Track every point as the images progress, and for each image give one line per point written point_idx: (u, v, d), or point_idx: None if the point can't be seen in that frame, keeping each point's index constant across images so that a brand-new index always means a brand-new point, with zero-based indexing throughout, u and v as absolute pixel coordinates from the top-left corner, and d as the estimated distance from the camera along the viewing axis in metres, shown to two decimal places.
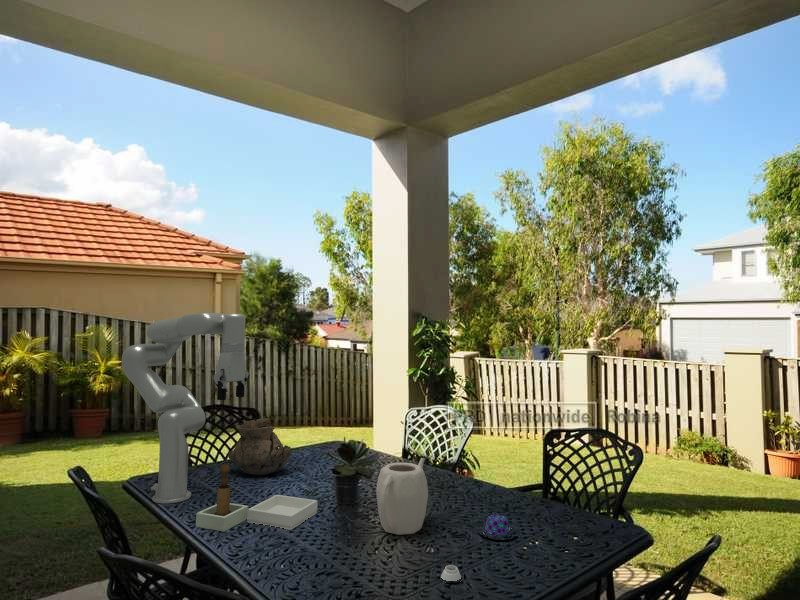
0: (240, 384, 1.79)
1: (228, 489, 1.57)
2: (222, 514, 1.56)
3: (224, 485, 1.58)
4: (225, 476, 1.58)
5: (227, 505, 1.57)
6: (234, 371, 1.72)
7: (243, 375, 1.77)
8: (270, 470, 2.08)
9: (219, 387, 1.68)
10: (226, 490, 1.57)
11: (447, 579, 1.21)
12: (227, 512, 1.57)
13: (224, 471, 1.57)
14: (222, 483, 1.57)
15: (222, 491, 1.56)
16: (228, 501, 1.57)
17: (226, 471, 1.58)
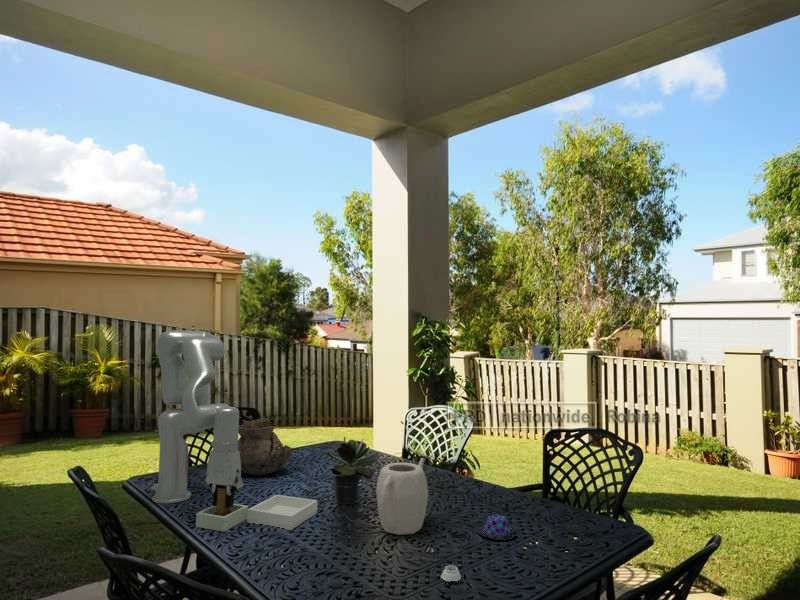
0: None
1: None
2: (222, 514, 1.56)
3: None
4: None
5: None
6: None
7: None
8: (270, 470, 2.08)
9: (232, 493, 1.57)
10: (226, 490, 1.57)
11: (447, 579, 1.21)
12: (227, 512, 1.57)
13: None
14: None
15: (222, 491, 1.56)
16: None
17: None
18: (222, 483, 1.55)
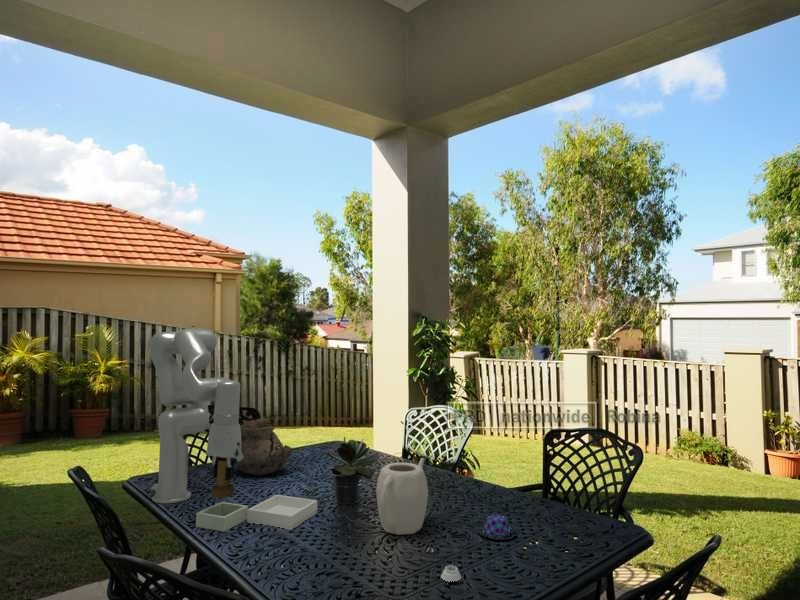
0: None
1: None
2: (222, 486, 1.57)
3: None
4: None
5: None
6: None
7: None
8: (270, 470, 2.08)
9: (233, 466, 1.58)
10: (226, 462, 1.58)
11: (447, 579, 1.21)
12: (227, 484, 1.58)
13: None
14: None
15: (222, 463, 1.57)
16: None
17: None
18: (222, 455, 1.56)
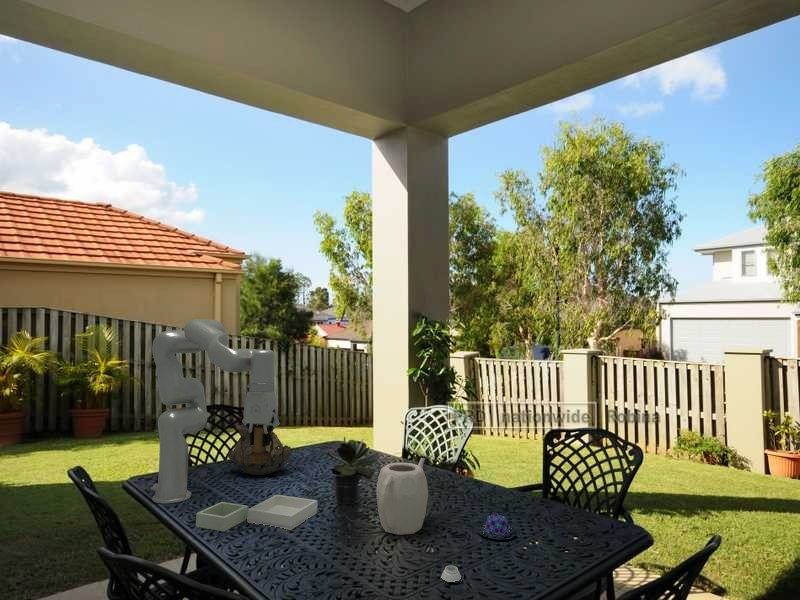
0: None
1: None
2: (259, 452, 1.60)
3: (260, 425, 1.62)
4: None
5: None
6: None
7: None
8: (270, 470, 2.08)
9: (269, 433, 1.61)
10: (263, 429, 1.61)
11: (447, 579, 1.21)
12: (264, 451, 1.61)
13: None
14: None
15: (259, 430, 1.60)
16: None
17: None
18: (259, 422, 1.59)
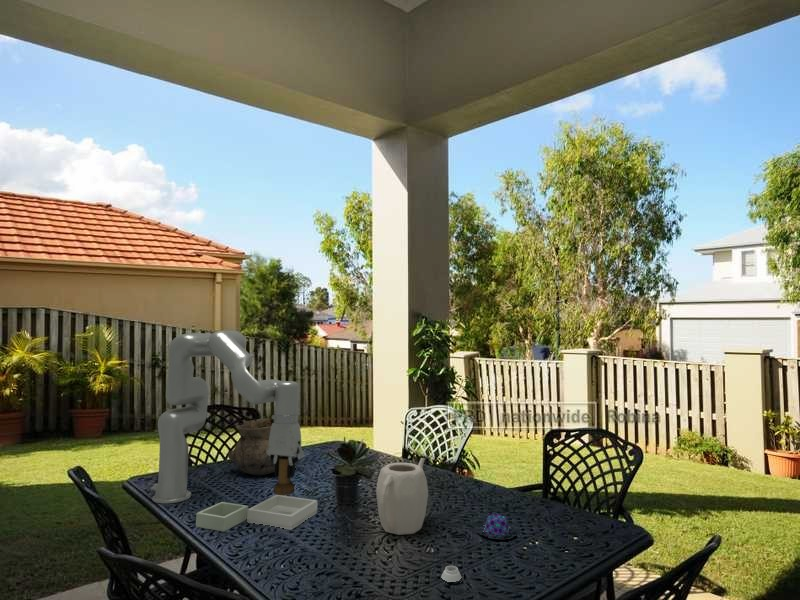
0: None
1: None
2: (284, 484, 1.61)
3: (285, 456, 1.63)
4: None
5: None
6: None
7: None
8: (270, 470, 2.08)
9: (294, 464, 1.63)
10: (288, 460, 1.62)
11: (447, 580, 1.21)
12: (289, 482, 1.62)
13: None
14: None
15: (284, 461, 1.62)
16: None
17: None
18: (284, 454, 1.61)
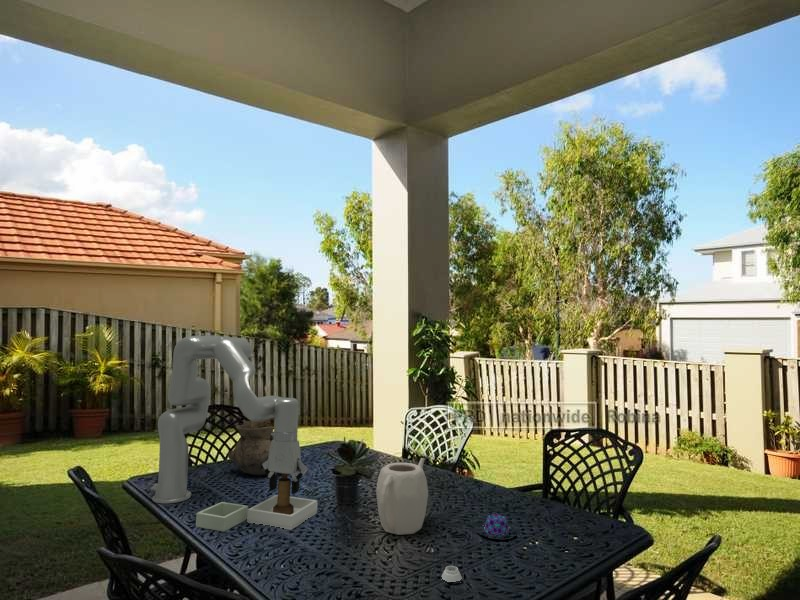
0: (274, 475, 1.65)
1: (289, 482, 1.62)
2: (283, 506, 1.61)
3: (285, 478, 1.63)
4: None
5: (288, 497, 1.62)
6: None
7: None
8: None
9: (299, 479, 1.62)
10: (287, 482, 1.62)
11: (447, 580, 1.21)
12: (288, 504, 1.62)
13: None
14: (283, 476, 1.63)
15: (283, 484, 1.61)
16: (289, 493, 1.63)
17: None
18: (284, 471, 1.60)
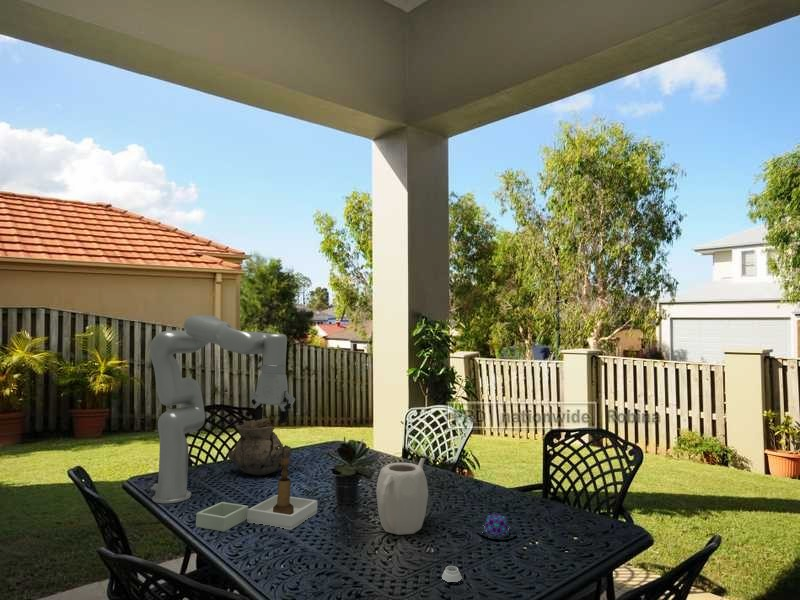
0: (260, 406, 1.71)
1: (289, 482, 1.62)
2: (283, 506, 1.61)
3: (285, 478, 1.63)
4: (285, 469, 1.63)
5: (288, 497, 1.62)
6: None
7: None
8: (270, 470, 2.08)
9: (287, 409, 1.67)
10: (287, 482, 1.62)
11: (448, 580, 1.21)
12: (288, 504, 1.62)
13: (285, 464, 1.62)
14: (283, 476, 1.63)
15: (283, 484, 1.61)
16: (289, 493, 1.63)
17: (287, 464, 1.63)
18: (271, 402, 1.66)
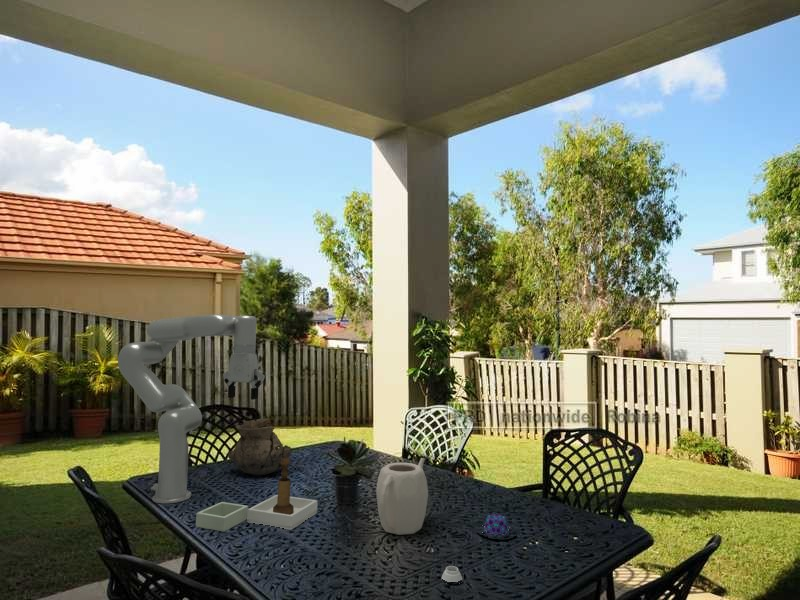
0: (232, 385, 1.80)
1: (289, 482, 1.62)
2: (283, 506, 1.61)
3: (285, 478, 1.63)
4: (285, 469, 1.63)
5: (288, 497, 1.62)
6: None
7: None
8: (270, 470, 2.08)
9: (257, 386, 1.76)
10: (287, 482, 1.62)
11: (448, 580, 1.21)
12: (288, 504, 1.62)
13: (285, 464, 1.62)
14: (283, 476, 1.63)
15: (283, 484, 1.61)
16: (289, 493, 1.63)
17: (287, 464, 1.63)
18: (242, 380, 1.76)
